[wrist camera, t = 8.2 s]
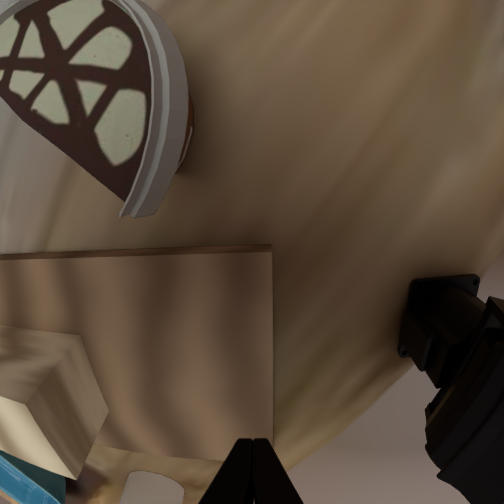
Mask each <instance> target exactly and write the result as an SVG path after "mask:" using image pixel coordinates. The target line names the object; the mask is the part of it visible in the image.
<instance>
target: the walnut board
mask: <svg viewBox="0 0 504 504" xmlns="http://www.w3.org/2000/svg"><path fill="white" fill-rule="evenodd" d="M0 325H4V326H10V327H17V328H24V329H31V330H38V331H46V332H55V333H64V334H73V335H80V336H81V339H82V342H83V345H84V348H85V351H86V354H87V357H88V360H89V362H90V365H91V368H92V370H93V373H94V376H95V378H96V381H97V383H98V386H99V388H100V391H101V393H102V396H103V398H104V400H105V403H106V405H107V407H108V410H109V412H108V414H107V416H106V418H105V420H104V422H103V425H102V427H101V429H100V431H99V433H98V435H97V437H96V439H95V441H94V443H93V444H97V445H102V446H107V447H111V448H116V449H122V450H127V451H133V452H139V453H146V454H153V455H161V456H169V457H179V458H190V459H204V460H225V459H226V457H227V456H228V454H229V452H230V451H231V449H232V447H233V446H234V444H235V442H236V440H237V439H239V438H251V439H252V440H253V439H254V438H267V439H268V440H269V442H270V444H271V445H272V447H273V283H272V249H271V244H262V245H231V246H202V247H174V248H147V249H121V250H96V251H72V252H49V253H27V254H5V255H0Z"/></svg>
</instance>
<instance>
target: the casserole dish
mask: <svg viewBox="0 0 504 504" xmlns="http://www.w3.org/2000/svg"><path fill="white" fill-rule="evenodd" d="M0 489H1V490H2V491H3V492H5V493H6V494H7V495H9V496H10V497H12V498H13V499H14V500H16V501H17V502H19V503H20V504H65V495H66V481H65V477H64V476H63V475H60V474H57V473H54V472H51V471H49V470H46V469H43V468H41V467H38V466H36V465H33V464H31V463H28V462H26V461H24V460H22V459H19V458H17V457H15V456H13V455H10V454H8V453H6V452H4V451H2V450H0Z"/></svg>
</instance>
